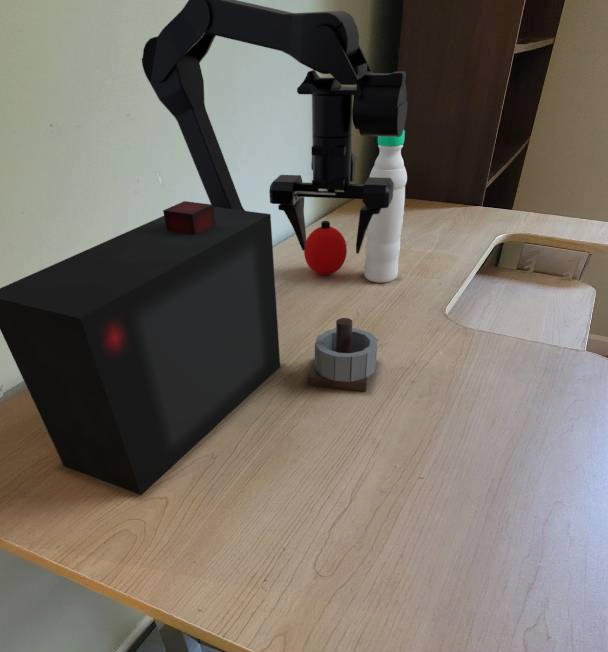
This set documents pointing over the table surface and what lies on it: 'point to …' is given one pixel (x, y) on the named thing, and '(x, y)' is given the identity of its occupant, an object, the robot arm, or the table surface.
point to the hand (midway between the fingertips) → (330, 251)
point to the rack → (341, 347)
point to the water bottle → (387, 214)
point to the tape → (346, 356)
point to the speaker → (147, 339)
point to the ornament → (325, 249)
